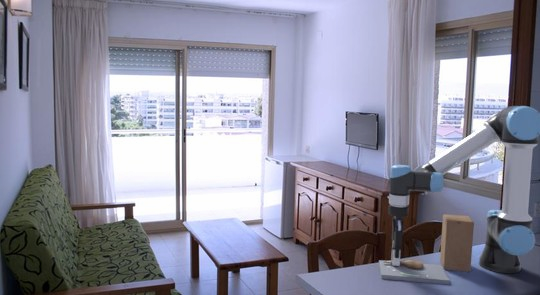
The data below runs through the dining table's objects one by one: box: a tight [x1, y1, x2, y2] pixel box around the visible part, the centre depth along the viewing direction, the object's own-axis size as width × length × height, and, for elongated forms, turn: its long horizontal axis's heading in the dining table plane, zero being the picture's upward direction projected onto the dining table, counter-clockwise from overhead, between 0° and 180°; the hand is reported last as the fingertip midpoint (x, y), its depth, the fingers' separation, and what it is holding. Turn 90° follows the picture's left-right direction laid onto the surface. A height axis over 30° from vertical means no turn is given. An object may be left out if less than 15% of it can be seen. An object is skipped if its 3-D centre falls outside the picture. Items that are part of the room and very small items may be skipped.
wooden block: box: [439, 213, 475, 272], centre depth 189 cm, size 10×10×20 cm
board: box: [378, 259, 451, 285], centre depth 181 cm, size 24×16×2 cm, turn 80°
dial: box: [382, 240, 424, 269], centre depth 185 cm, size 15×7×9 cm, turn 81°
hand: (395, 263), depth 186 cm, fingers closed on dial, 3 cm apart
